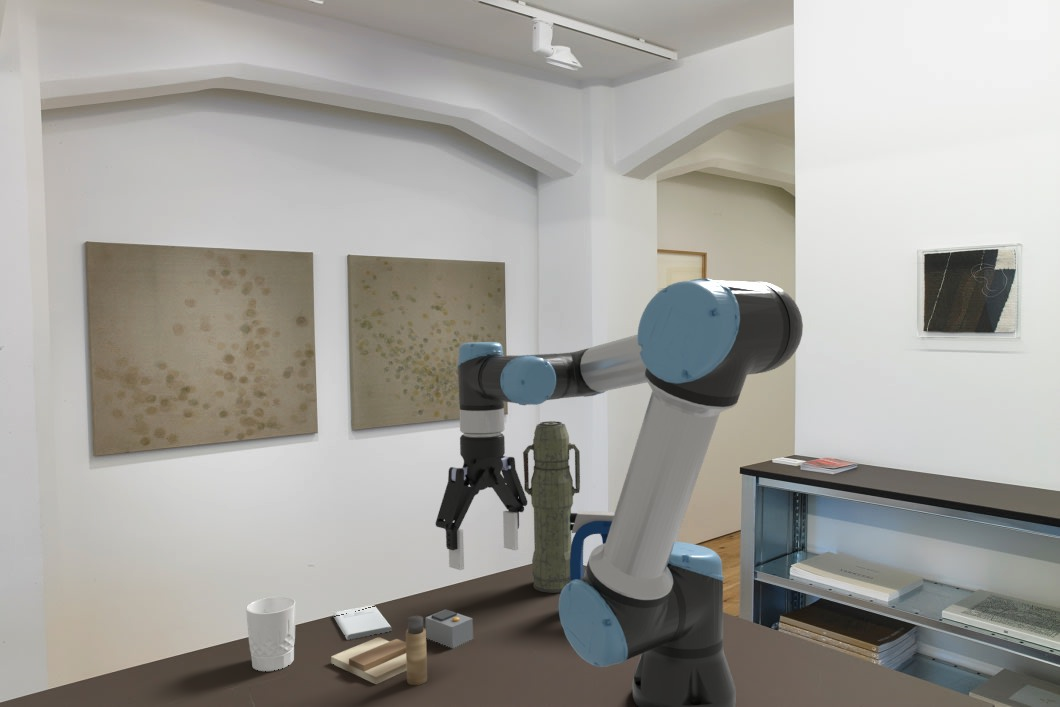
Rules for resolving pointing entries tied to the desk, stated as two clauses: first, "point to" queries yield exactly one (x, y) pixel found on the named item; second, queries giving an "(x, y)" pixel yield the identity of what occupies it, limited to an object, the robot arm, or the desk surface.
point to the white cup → (271, 632)
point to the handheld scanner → (586, 535)
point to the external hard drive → (361, 622)
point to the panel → (374, 659)
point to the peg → (416, 651)
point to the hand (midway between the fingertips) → (484, 558)
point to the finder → (449, 628)
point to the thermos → (551, 504)
